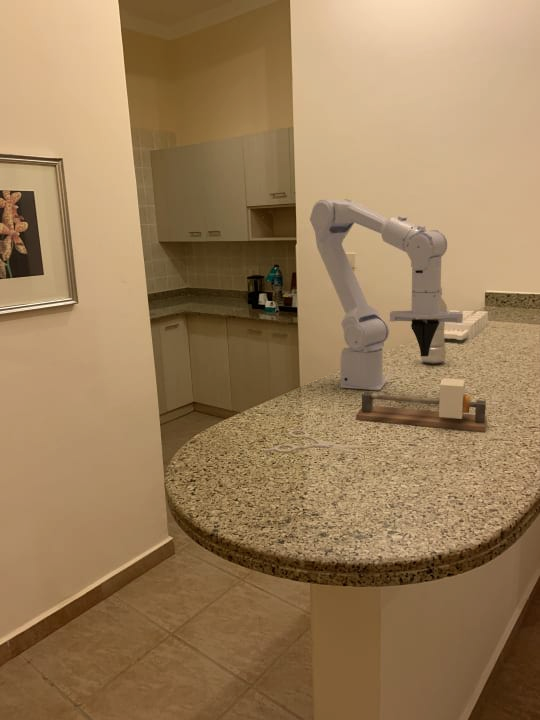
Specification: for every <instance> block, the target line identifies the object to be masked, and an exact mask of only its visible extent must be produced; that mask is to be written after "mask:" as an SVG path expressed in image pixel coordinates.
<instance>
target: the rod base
mask: <svg viewBox="0 0 540 720" xmlns="http://www.w3.org/2000/svg"><path fill="white" fill-rule="evenodd" d="M373 400H377V401H378V400H381V401H392V402H405V403H417V404H419V403H420V404H430V405H439V402H440V398H429V397H419V396H418V397H416V396H415V397H414V396H405V395H404V396H403V395H393V394H392V395H390V394H377V393H374V392H373V391H364V392H363V393H362V394H361V408H360V409H359V410H358V411H357V413H356V414H355V420H359V421H365V422H366V421H367V422H376V423H379V422H380V423H387V424H388V423H390V424H396V425H397V424H399V425H407V426H409V425H410V426H418V427H419V426H420V427H429V428H438V429H439V428H440V429H447V430H448V429H450V430H458V431H459V430H460V431H461V430H462V431H470V432H480V433H485V432H486V428H487V427H486V426H487V417H488V416H487V415H486V406H487V401H486V400H480V399H479V400H477V399H476V401H471V397H470V395H469V394H468V395H467V394H466V395H464V396H463V412H464V413H463V417H462V419H457V418H446V417H439V410H438V411H436V410H425V409H415V408H414V409H413V408H401V407H391V406H390V407H389V406H379V405H374V403H373V402H374V401H373ZM470 408H475V413H474V414H473V413H470Z"/></svg>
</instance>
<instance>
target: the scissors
mask: <svg viewBox="0 0 540 720" xmlns="http://www.w3.org/2000/svg"><path fill="white" fill-rule="evenodd" d="M294 433H302V434H303V435H302V434H301V435H298V434H294ZM288 435H289V436H290V437H292V438H295V439H300V438H302V439H303V438H305V439H310V440H312V441H314V442H315V443H314V444H309V445H303V446H302V445H293V444H291V443H284V444H279V445H276V446H275V447H271V448H263V450H262V452H264V453H265V452H274V451H276V452H278V453H284V454H285V453H287V454H288V453H292V452H295V451H297V450H300V449H302V450H307V449H311V448H326V449H327V448H330V449H335V450H340V451H345V452H349V453H353V454H360V455H363V456H371V457H375V458H379V455H374V454H370V453H368V452H367V453H366V452H362V451H358V450H354V449H355V448H357V449H359V448H360V449H363V448H365V449H366V448H367V449H369V448H370V449H372V448H373V449H375V448H377V449H379V448H384V449H385V447H383V446H371V445H369V446H367V445H355V444H338V443H337V444H335V443H332V442H329V441H325V440H320V439H317V438H316V437H315V436H310V435H309V434H308V432H306V431H305V430H301V429H295V430H291V431H289V432H288ZM286 447H287V448H288V447H289V448H290V449H280V448H286Z"/></svg>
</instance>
